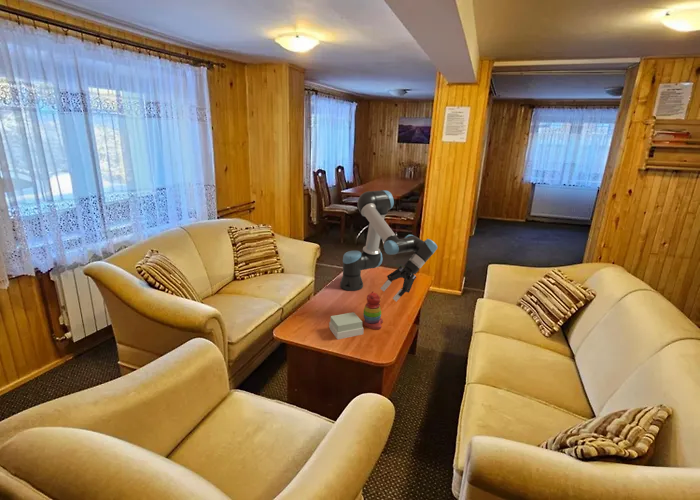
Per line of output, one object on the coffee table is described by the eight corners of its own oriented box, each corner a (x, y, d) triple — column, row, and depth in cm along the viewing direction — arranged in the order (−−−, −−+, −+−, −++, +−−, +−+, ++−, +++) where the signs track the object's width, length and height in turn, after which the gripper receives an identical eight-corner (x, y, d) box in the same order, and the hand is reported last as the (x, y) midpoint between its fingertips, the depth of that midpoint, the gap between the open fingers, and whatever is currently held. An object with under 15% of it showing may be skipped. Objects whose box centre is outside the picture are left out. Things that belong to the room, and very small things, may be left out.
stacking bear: (380, 330, 194) (382, 298, 189) (361, 327, 196) (362, 296, 191) (383, 320, 204) (384, 290, 199) (364, 318, 206) (365, 288, 201)
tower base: (329, 328, 195) (329, 315, 193) (354, 323, 200) (354, 311, 198) (337, 339, 185) (337, 326, 183) (363, 334, 190) (363, 321, 188)
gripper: (431, 276, 189) (404, 308, 188) (406, 261, 211) (381, 289, 210) (423, 267, 186) (395, 300, 185) (398, 253, 208) (373, 282, 207)
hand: (387, 294), depth 197 cm, fingers open, 13 cm apart
